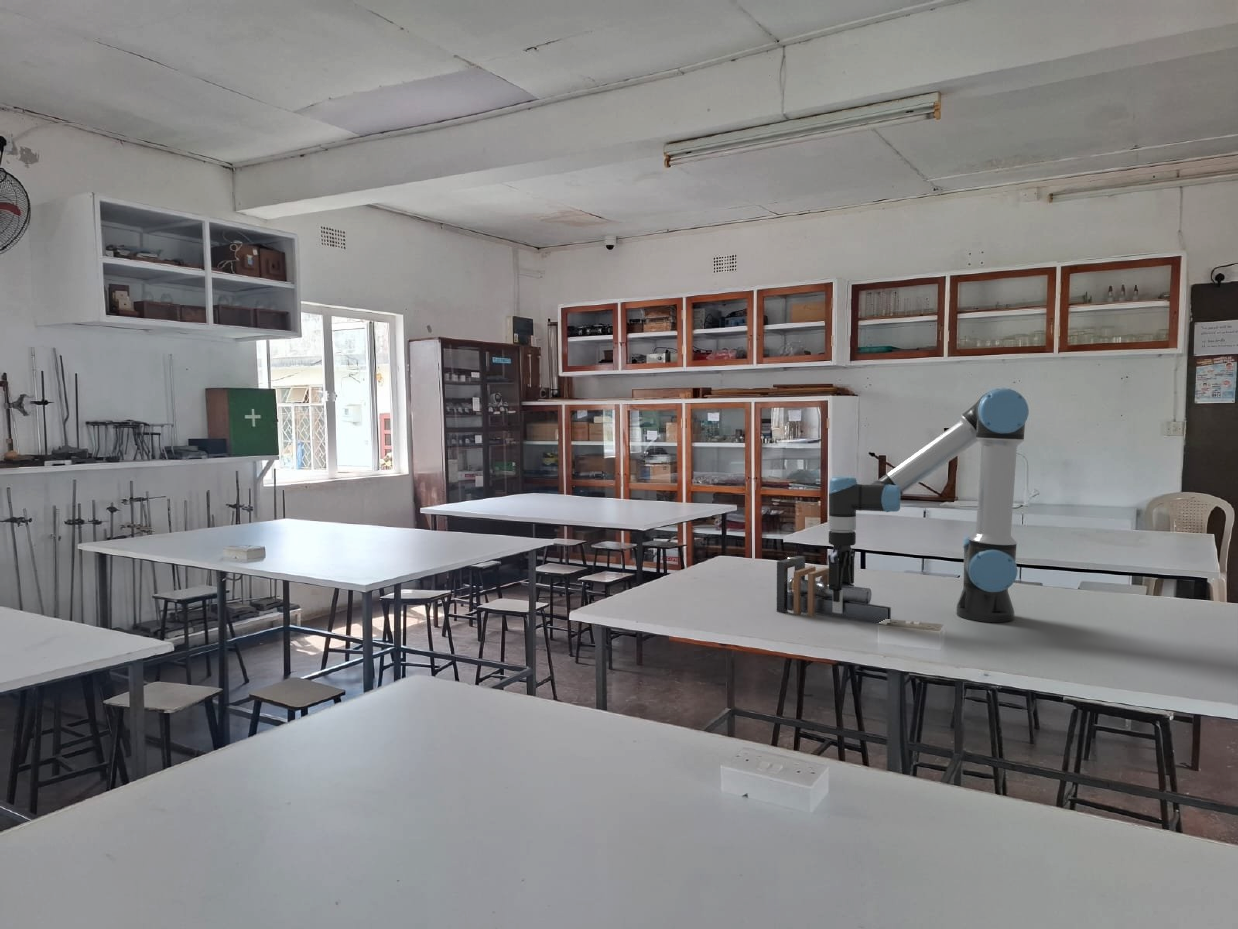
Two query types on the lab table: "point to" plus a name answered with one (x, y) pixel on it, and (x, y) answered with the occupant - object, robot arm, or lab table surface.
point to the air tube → (823, 591)
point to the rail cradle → (844, 609)
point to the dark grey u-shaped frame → (786, 579)
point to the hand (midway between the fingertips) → (841, 610)
